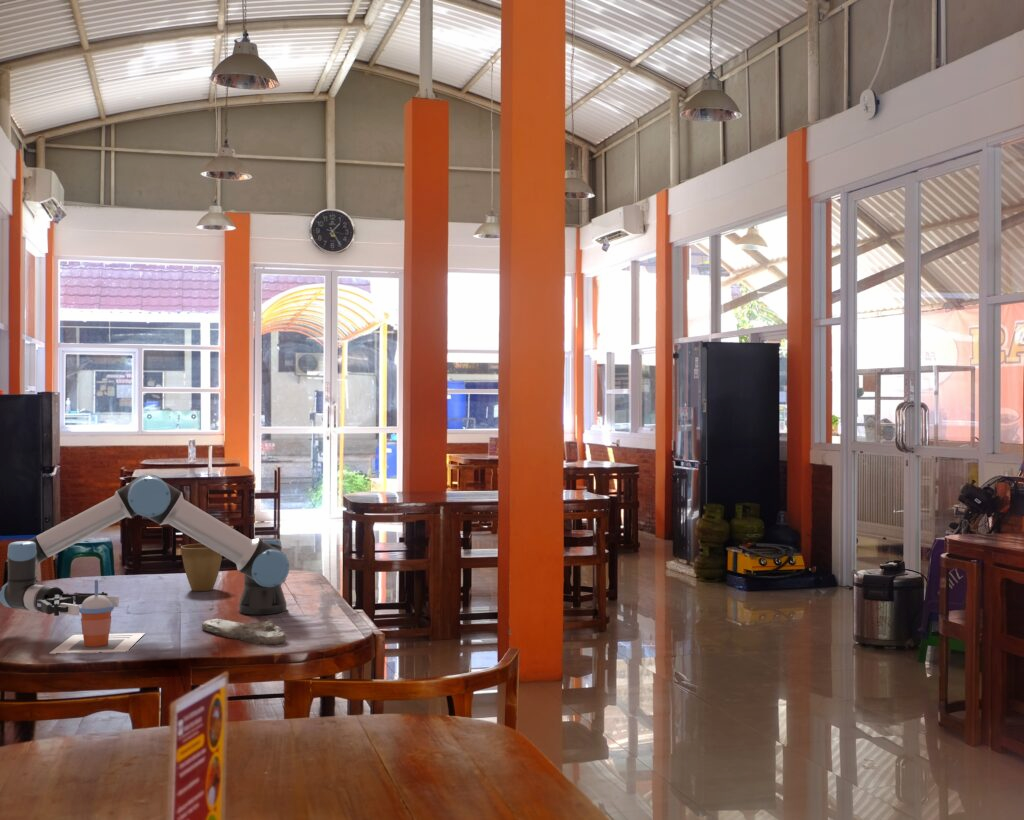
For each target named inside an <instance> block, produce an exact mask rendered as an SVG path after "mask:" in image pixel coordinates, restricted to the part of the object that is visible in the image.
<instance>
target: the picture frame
mask: <svg viewBox="0 0 1024 820" xmlns="http://www.w3.org/2000/svg"><path fill="white" fill-rule="evenodd" d="M144 634H145V635H146V632H142V633H141V632H138V633H137V632H135V633H133V632H132V633H131V632H130V633H109V639H108V644H107V645H104V646H100V647H87V646H85V645H84V638H83V634H82V633H81V634H73V635H70V637H69V638H68V639H66V640H65V641H63V642H62V643H60V645H58V646H56V647H55V648H54V649H53V650H51V651H50V652H49V654H51V655H53V654H54V655H56V653H61V654H89V653H90V654H95V653H98V654H99V652H102V653H127V652H129V651H130V650H131V649H132V648H133V647H134V646H135V645H136V644H137V643H138V642H139V641H140V640H141V639H142V638H143V637H144V636H145V635H144ZM143 635H144V636H143ZM142 636H143V637H142ZM141 637H142V638H141ZM140 638H141V639H140ZM139 639H140V640H139ZM138 640H139V641H138ZM137 641H138V642H137ZM136 642H137V643H136ZM135 643H136V644H135ZM134 644H135V645H134ZM133 645H134V646H133ZM132 646H133V647H132ZM131 647H132V648H131ZM130 648H131V649H130ZM129 649H130V650H129ZM126 651H127V652H126Z"/></svg>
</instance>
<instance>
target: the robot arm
mask: <svg viewBox="0 0 1024 820" xmlns="http://www.w3.org/2000/svg"><path fill="white" fill-rule="evenodd" d="M136 516H141V517H144V518H146V519H149V520H150V521H152V522H155V523H156V524H158V525H159V526H162V525H170V526H171V527H173V528H175V529H177V531H180V532H181V533H183V534H185V535H187V536H188V537H190V538H192V539H194V540H195V541H197V542H198V543H199V544H204V545H205V546H207V547H209V548H210V549H212V550H214V551H215V552H217V553H219V554H221V555H222V557H224V558H226V559H228V560H229V561H231V562H233V563H234V564H235V565H236V569H237V571H239V572H240V573H242V574H243V575H244V587H243V591H242V594H241V597H240V600H239V603H238V612H239V613H241V614H244V615H255V616H256V615H257V616H260V615H273V614H279V613H284V612H285V611H287V600H286V597H285V595H284V591H283V587H282V583H283V582H284V581H286V579H287V577H288V576H289V571H290V563H289V559H288V557H287V555H286V554H285V553H284V552H282V548H283V547H282V541H281V540H279V539H267V540H266V539H265V540H263V539H260V538H259V537H256V538H253V539H251V538H249V536H248V537H247V536H246V535H244V534H242V533H241V532H239V531H238V530H236V529H234V528H232V527H231V526H230V525H227V524H226V523H224V522H222V521H220V519H217V518H216V517H214V516H212V515H211V514H209V513H207V512H206V511H204V510H202V509H201V508H199V507H198V506H195V505H194V504H192V503H191V502H189V501H187V500H185V498H184V495H183V492H182V491H180V490H179V489H177V488H176V487H174V486H172V485H170V484H169V483H168V482H165V481H164V480H163V479H162V478H161V477H160V476H158V475H155V474H151V473H148V474H147V473H146V474H142V475H139V476H137V477H136V478H134V479H133V480H132V481H130V482H128V483H127V484H126V485H125V486H122V487H120V488H119V489H117V490H116V491H115V492H114V495H113V496H111V497H109V498H107V499H105V500H103V501H101V502H99V503H97V504H95V505H93V506H91V507H89V508H87V509H86V510H84V511H82V512H80V513H78V514H77V515H74V516H73V517H70V518H69V519H66V520H64V521H63V522H61V523H59V524H57V525H54V526H53V527H51V528H49V529H47V530H45V531H44V532H42V533H39V534H38V535H36V536H33V537H32V538H30V539H28V540H20V541H13V542H10V543H9V544H8V546H7V582H6V583H5V584H4V585H3V586H2V587H1V589H0V603H1V604H2V605H3V607H7V608H11V609H14V610H24V611H28V612H29V611H31V612H35V613H36V614H40V613H42V614H43V613H45V614H47V615H52V614H53V616H54V617H59V616H60V614H63V615H69V616H79V615H80V612H79V607H80V605H82V603H83V601H84V600H85V599H86V598H88V597H90V596H93V595H95V592H94V593H93V592H92V593H91V592H90V593H89V592H87V593H84V592H83V593H81V592H74V593H67V592H64V591H63V589H61V588H60V587H57V586H52V585H51V586H50V585H44V584H37V565H38V564H39V563H42V562H43V561H45V560H47V559H49V558H50V557H52V556H55V555H56V554H58V553H60V552H62V551H64V550H65V549H68V548H70V547H73V545H75V544H77V543H79V542H81V541H83V540H84V539H87V538H89V537H90V536H92V535H94V534H97V533H98V532H101V531H102V530H105V529H106V528H108V527H110V526H112V525H114V524H115V523H118V522H119V521H121V520H123V519H125V518H129V519H132V518H134V517H136ZM98 595H102V596H105V597H106V598H108V599H109V601H110V602H111V604H112V605H113V606H114V608H118V607H119V604H120V603H119V601H120V600H119V596H114V595H113V596H112V595H109V593H107V592H104V591H102V592H101V593H99V592H98Z"/></svg>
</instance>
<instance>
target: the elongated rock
mask: <svg viewBox="0 0 1024 820" xmlns="http://www.w3.org/2000/svg"><path fill="white" fill-rule="evenodd" d="M201 630H202V631H204V632H208V633H211V634H215V635H217V636H222V637H225V638H229V639H237V640H240V641H243V642H247V643H249V642H250V643H253V644H257V645H261V644H265V645H267V644H271V645H273V644H274V645H277V644H282V643H284V642H286V640H287V639H288V638H287V637H288V636H287V632H286V631H285V630H284V628H282V627H281V626H278V625H277V624H275V622H273V620H265V621H260V620H259V621H258V622H251V623H243V622H238V621H233V620H229V619H227V620H226V619H223V618H213V619H207V620H204V621H203V622H202V624H201Z"/></svg>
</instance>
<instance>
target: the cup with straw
mask: <svg viewBox="0 0 1024 820" xmlns="http://www.w3.org/2000/svg"><path fill="white" fill-rule="evenodd" d="M94 593H95V595H93V596H90V597H88V598H86V599H85V600H84V601H83V603H82V604H81V606H80V605H79V614H81V618H80V625H81V634H83V638H84V645H85V646H87V647H100V646H104V645H107V644H108V639H109V634H111V626H112V625H111V624H112V612H113V611H114V610H115V607H114V606H113V605H112V604H111V602H110V601H109V599H108V598H106V597H105V596H102V595H98V593H99V579H94Z"/></svg>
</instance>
